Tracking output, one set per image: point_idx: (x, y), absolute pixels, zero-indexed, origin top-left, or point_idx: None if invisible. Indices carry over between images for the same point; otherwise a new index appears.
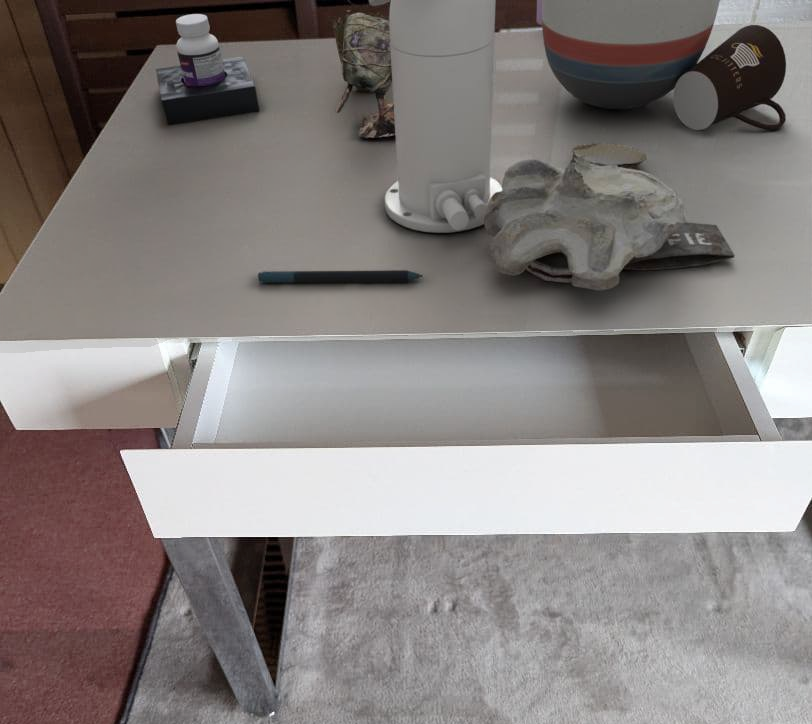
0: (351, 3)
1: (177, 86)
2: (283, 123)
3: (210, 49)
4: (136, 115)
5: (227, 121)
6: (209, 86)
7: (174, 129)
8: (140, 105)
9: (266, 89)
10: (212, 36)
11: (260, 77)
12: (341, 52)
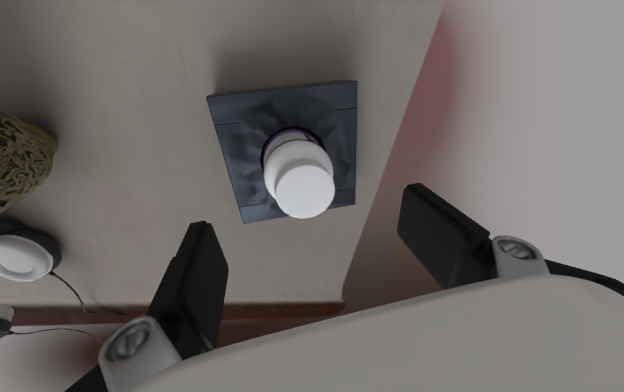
0: (96, 338)
1: (331, 133)
2: (159, 18)
3: (275, 150)
4: (379, 130)
5: (261, 65)
6: (284, 118)
7: (337, 60)
8: (372, 161)
9: (215, 174)
10: (271, 182)
11: (229, 213)
12: (5, 134)
